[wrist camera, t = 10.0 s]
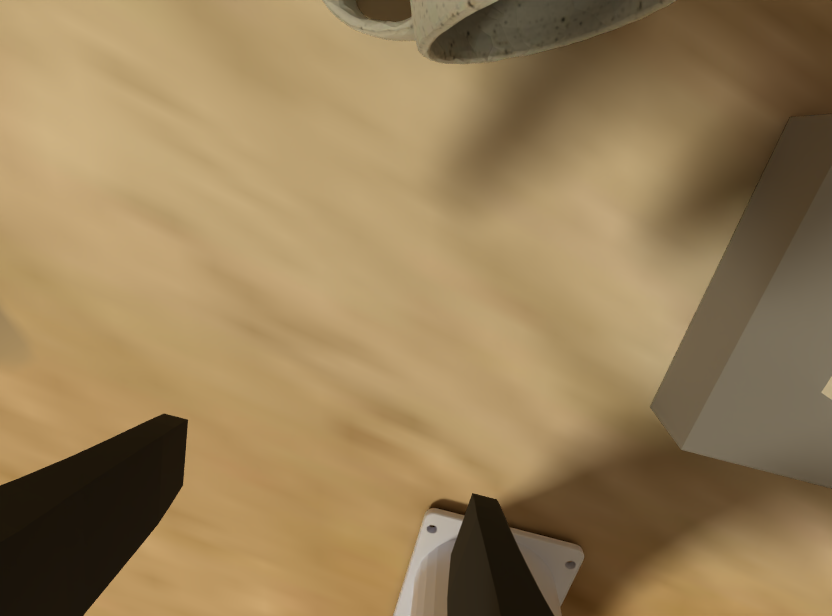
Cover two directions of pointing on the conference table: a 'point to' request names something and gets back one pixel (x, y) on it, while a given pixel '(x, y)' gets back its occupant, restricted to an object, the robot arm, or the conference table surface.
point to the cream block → (828, 389)
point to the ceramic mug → (497, 25)
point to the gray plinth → (766, 326)
